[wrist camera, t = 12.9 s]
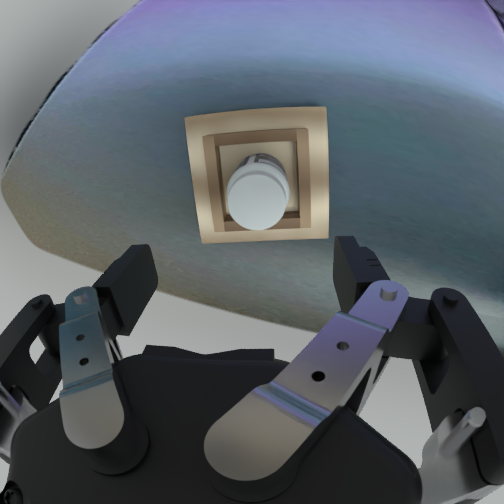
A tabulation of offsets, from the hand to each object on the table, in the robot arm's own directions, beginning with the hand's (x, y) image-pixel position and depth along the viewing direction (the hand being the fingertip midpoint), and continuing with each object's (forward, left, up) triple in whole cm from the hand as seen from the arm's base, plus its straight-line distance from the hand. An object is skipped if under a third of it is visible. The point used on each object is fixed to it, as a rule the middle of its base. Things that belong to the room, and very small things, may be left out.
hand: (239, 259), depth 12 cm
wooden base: (0, 0, -19) cm, 19 cm away
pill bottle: (0, 0, -17) cm, 17 cm away
